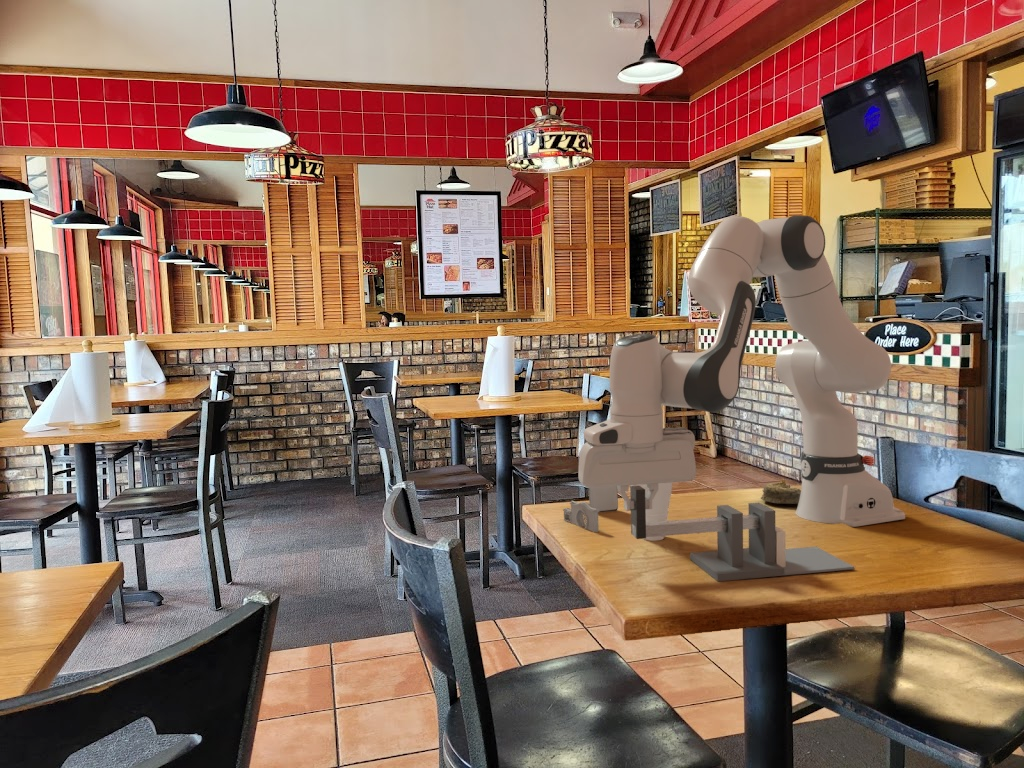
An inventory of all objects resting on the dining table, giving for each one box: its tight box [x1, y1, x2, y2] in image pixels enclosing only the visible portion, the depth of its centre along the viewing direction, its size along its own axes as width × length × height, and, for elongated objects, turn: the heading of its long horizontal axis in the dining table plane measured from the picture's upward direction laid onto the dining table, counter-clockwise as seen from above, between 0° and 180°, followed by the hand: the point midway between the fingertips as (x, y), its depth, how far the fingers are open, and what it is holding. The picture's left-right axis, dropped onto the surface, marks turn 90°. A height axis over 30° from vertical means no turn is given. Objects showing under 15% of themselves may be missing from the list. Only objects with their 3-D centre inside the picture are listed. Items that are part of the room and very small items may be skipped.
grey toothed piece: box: [562, 500, 601, 533], centre depth 161 cm, size 12×2×6 cm, turn 29°
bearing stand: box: [689, 502, 785, 582], centre depth 132 cm, size 12×12×10 cm
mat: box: [783, 546, 855, 576], centre depth 135 cm, size 13×12×1 cm
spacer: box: [775, 525, 786, 567], centre depth 134 cm, size 2×6×6 cm, turn 9°
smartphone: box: [588, 486, 619, 513], centre depth 173 cm, size 7×1×15 cm, turn 106°
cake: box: [760, 478, 801, 505], centre depth 178 cm, size 10×10×5 cm
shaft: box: [629, 485, 760, 540], centre depth 131 cm, size 23×3×8 cm, turn 99°
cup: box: [630, 482, 674, 542], centre depth 152 cm, size 11×11×18 cm
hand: (638, 509), depth 129 cm, fingers closed on shaft, 2 cm apart
